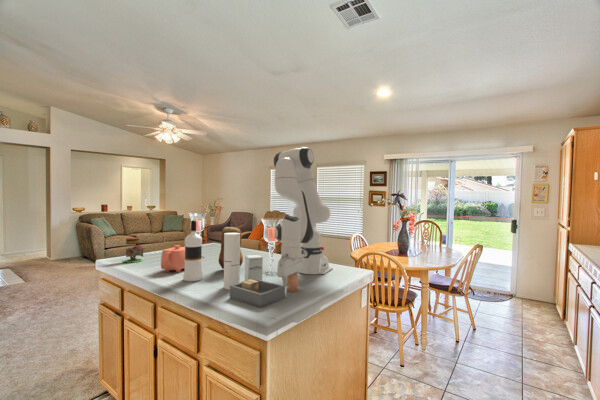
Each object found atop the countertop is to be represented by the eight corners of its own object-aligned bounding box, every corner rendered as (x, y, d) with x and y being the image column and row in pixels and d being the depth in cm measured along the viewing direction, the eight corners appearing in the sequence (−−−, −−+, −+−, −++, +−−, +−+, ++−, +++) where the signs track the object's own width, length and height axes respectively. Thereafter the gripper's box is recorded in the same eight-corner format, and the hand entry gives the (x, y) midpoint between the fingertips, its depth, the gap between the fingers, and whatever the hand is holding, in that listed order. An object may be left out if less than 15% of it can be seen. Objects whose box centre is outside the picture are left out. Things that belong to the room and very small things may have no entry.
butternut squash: (246, 268, 171) (247, 226, 171) (236, 274, 158) (237, 228, 158) (225, 267, 174) (225, 225, 174) (213, 272, 161) (214, 227, 161)
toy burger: (142, 262, 183) (142, 239, 183) (119, 263, 180) (120, 239, 179) (146, 259, 195) (146, 236, 195) (124, 260, 191) (125, 237, 191)
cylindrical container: (226, 284, 139) (226, 232, 138) (241, 284, 138) (241, 232, 138) (221, 289, 131) (222, 234, 131) (237, 289, 131) (237, 234, 131)
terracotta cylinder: (291, 287, 134) (291, 272, 134) (299, 290, 131) (300, 274, 131) (284, 290, 130) (284, 275, 130) (293, 292, 127) (293, 277, 127)
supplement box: (247, 284, 140) (248, 258, 140) (244, 280, 147) (244, 255, 146) (262, 282, 143) (262, 257, 143) (258, 278, 149) (258, 254, 149)
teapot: (179, 264, 179) (179, 241, 179) (198, 266, 176) (198, 242, 176) (154, 273, 157) (154, 247, 157) (175, 275, 154) (175, 248, 154)
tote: (254, 289, 131) (254, 278, 131) (284, 298, 121) (284, 286, 121) (229, 297, 120) (230, 285, 120) (260, 308, 109) (261, 294, 109)
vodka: (179, 281, 143) (180, 220, 143) (189, 276, 152) (190, 219, 152) (196, 282, 141) (197, 221, 141) (206, 277, 151) (206, 220, 150)
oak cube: (250, 290, 127) (250, 279, 127) (258, 293, 124) (258, 281, 124) (241, 293, 123) (241, 281, 123) (249, 296, 120) (249, 284, 120)
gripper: (287, 257, 120) (286, 290, 120) (305, 249, 139) (305, 278, 139) (273, 255, 123) (273, 288, 123) (293, 248, 141) (293, 277, 141)
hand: (290, 283), depth 131 cm, fingers open, 8 cm apart
